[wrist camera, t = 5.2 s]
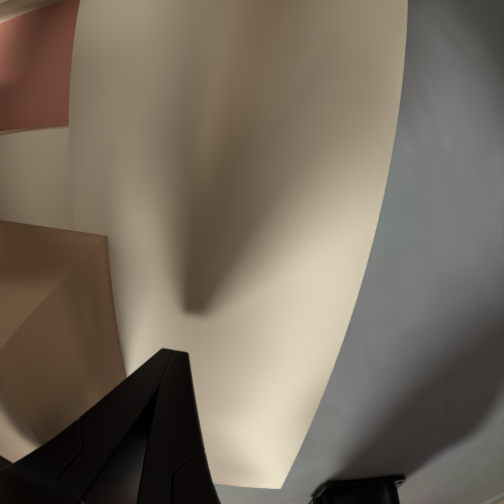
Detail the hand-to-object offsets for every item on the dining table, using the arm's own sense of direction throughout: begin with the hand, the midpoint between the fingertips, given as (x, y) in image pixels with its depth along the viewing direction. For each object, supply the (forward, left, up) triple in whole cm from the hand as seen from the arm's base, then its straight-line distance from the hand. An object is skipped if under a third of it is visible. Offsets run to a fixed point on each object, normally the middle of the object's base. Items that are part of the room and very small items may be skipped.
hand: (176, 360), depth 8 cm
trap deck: (+7, 0, -3) cm, 8 cm away
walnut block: (+5, 0, -1) cm, 5 cm away
